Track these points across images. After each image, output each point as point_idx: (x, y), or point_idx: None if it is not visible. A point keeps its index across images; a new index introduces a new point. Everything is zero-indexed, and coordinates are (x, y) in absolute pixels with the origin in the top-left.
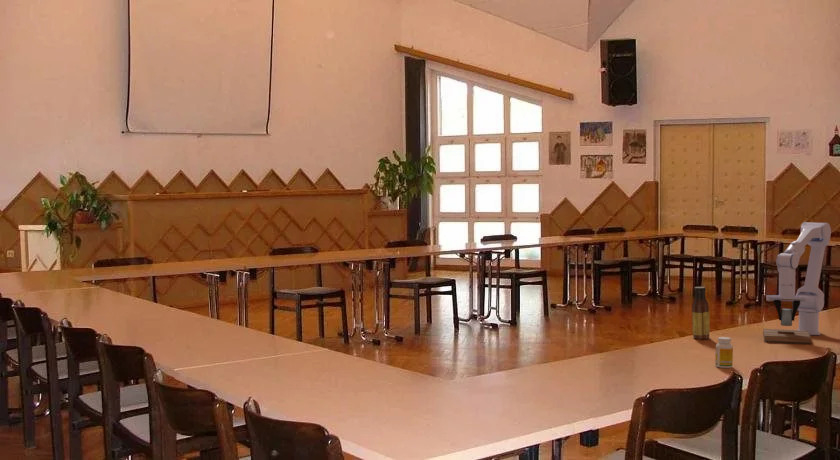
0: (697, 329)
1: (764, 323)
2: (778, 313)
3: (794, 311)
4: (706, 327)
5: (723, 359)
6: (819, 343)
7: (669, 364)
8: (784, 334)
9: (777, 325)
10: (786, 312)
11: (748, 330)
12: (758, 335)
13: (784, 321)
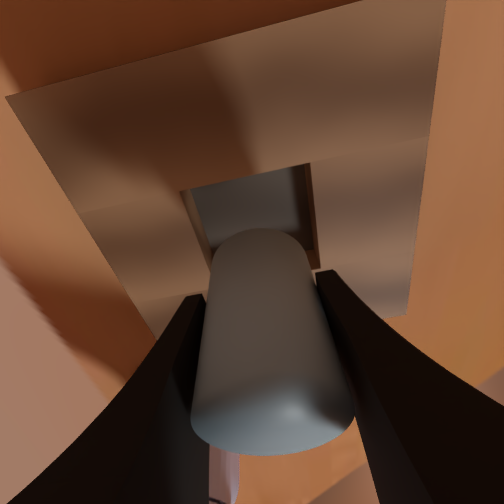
0: None
1: (365, 458)
2: (374, 314)
3: (146, 384)
4: None
5: None
6: (19, 167)
7: None
8: (258, 158)
9: (324, 450)
10: (260, 339)
11: (445, 356)
12: (417, 266)
13: (275, 253)
